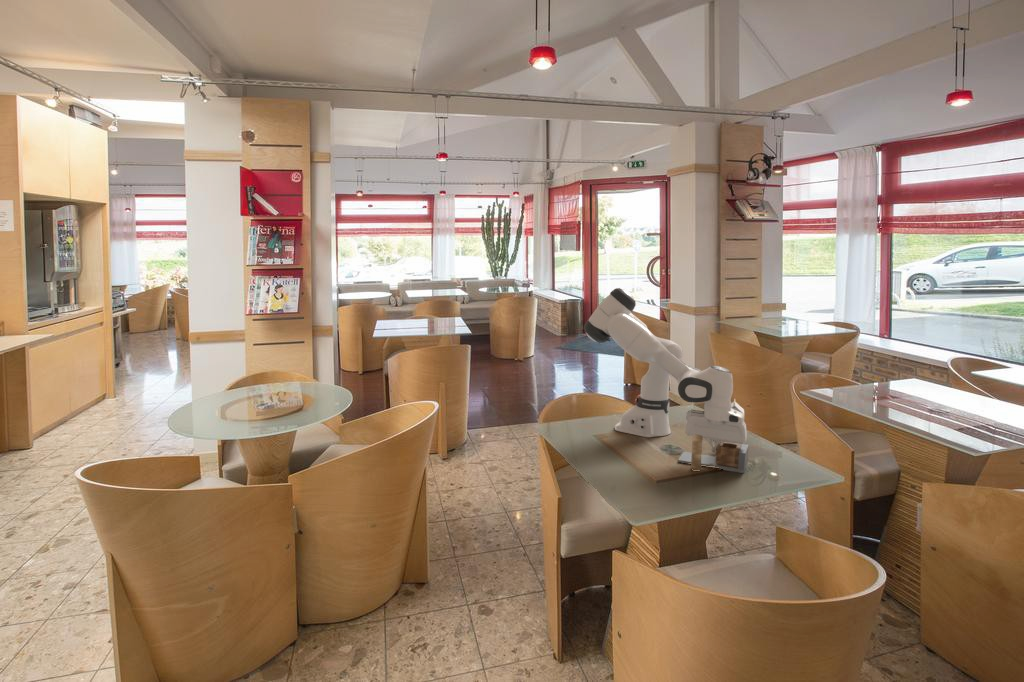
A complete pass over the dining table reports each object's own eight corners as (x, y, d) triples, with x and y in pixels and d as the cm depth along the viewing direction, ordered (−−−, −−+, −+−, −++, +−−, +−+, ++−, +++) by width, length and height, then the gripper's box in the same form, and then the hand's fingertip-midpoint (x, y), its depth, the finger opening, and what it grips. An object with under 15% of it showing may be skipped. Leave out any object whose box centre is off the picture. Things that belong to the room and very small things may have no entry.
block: (715, 463, 214) (716, 447, 213) (719, 457, 220) (720, 441, 219) (738, 467, 210) (739, 450, 209) (741, 460, 217) (742, 444, 216)
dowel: (690, 470, 211) (691, 436, 209) (691, 467, 213) (693, 434, 212) (699, 472, 209) (701, 438, 207) (701, 469, 212) (703, 435, 210)
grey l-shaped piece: (677, 462, 218) (678, 443, 217) (683, 454, 227) (684, 435, 226) (743, 473, 209) (745, 453, 207) (747, 464, 217) (748, 444, 216)
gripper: (684, 410, 216) (682, 448, 219) (746, 419, 207) (743, 459, 209) (688, 406, 222) (685, 443, 224) (749, 414, 213) (745, 453, 215)
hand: (714, 451), depth 217 cm, fingers closed
